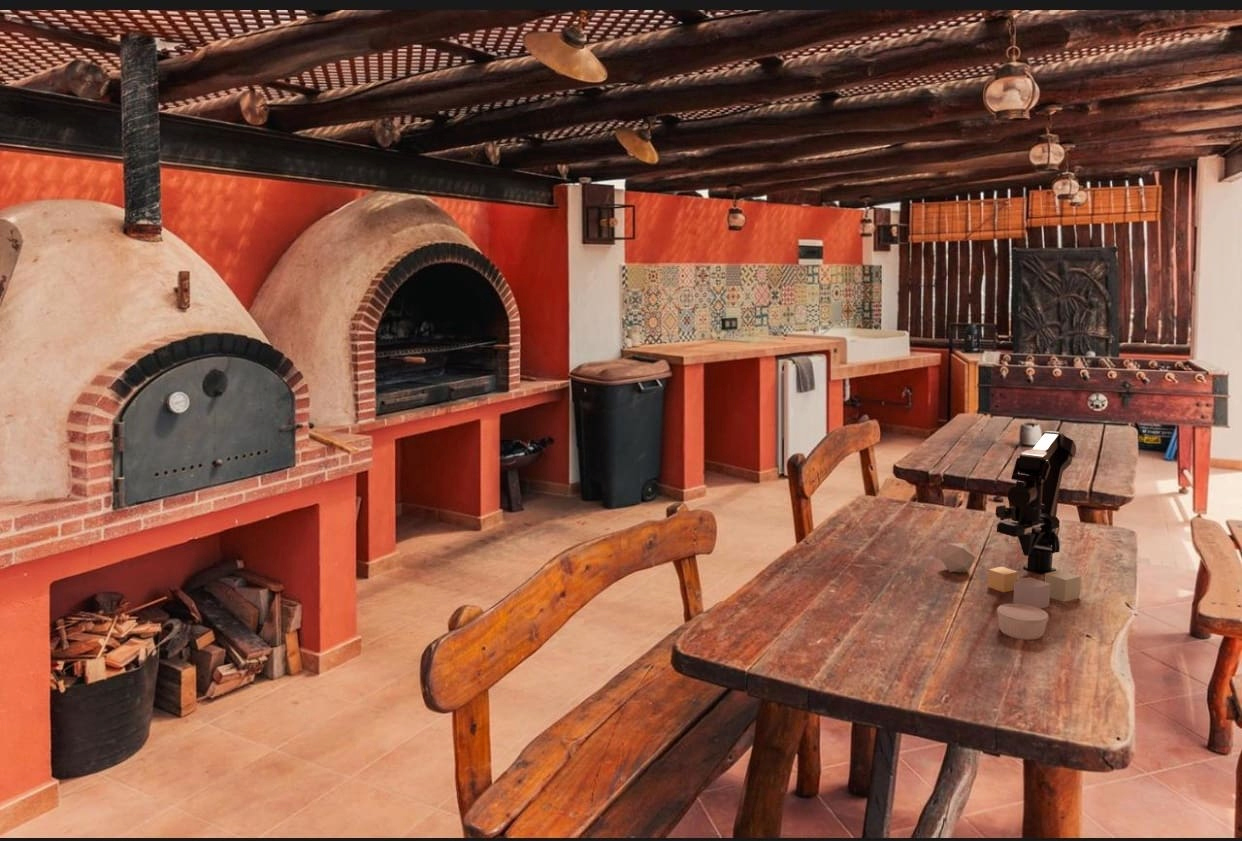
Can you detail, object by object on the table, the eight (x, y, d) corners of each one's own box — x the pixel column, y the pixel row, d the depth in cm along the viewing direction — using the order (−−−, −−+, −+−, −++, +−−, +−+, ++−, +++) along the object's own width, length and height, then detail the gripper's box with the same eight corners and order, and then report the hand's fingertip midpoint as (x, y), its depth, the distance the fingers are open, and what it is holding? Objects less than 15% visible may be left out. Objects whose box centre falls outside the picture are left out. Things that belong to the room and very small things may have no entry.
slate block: (1028, 599, 236) (1030, 577, 235) (1049, 606, 231) (1050, 583, 230) (1013, 603, 233) (1014, 580, 232) (1033, 610, 228) (1035, 587, 227)
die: (969, 580, 253) (984, 550, 254) (941, 563, 253) (957, 534, 255) (958, 580, 261) (973, 552, 262) (931, 565, 261) (946, 536, 263)
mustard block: (1000, 584, 247) (1001, 566, 247) (1016, 589, 243) (1017, 571, 242) (987, 587, 245) (989, 569, 244) (1003, 592, 241) (1004, 574, 240)
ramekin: (1033, 623, 219) (1034, 602, 219) (1056, 641, 208) (1058, 619, 208) (987, 624, 219) (988, 603, 218) (1008, 642, 208) (1009, 620, 207)
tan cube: (1058, 591, 242) (1060, 569, 241) (1079, 598, 236) (1080, 576, 235) (1043, 595, 239) (1045, 573, 238) (1064, 602, 233) (1066, 580, 233)
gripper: (1027, 489, 256) (1023, 542, 259) (981, 497, 247) (978, 552, 250) (1062, 497, 246) (1058, 553, 249) (1016, 506, 238) (1012, 563, 240)
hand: (1026, 555), depth 247 cm, fingers closed
